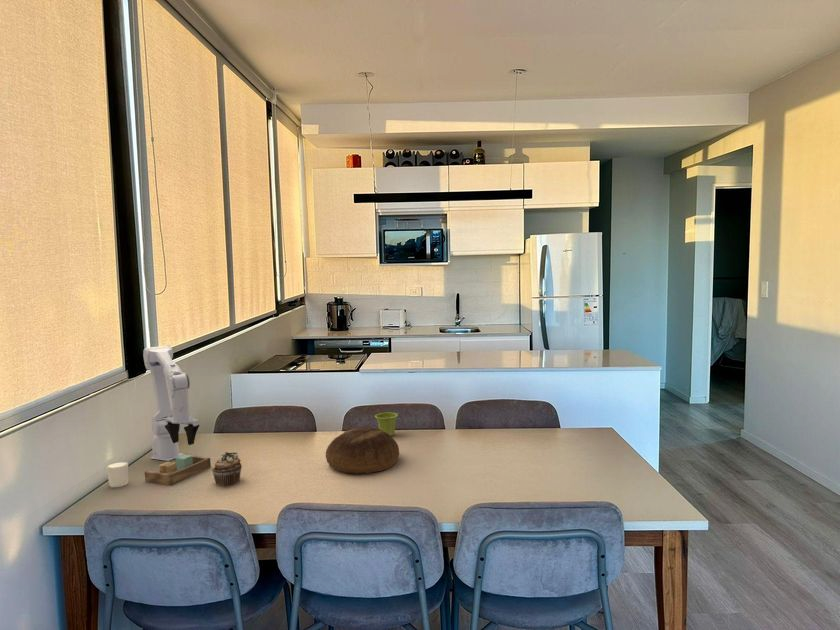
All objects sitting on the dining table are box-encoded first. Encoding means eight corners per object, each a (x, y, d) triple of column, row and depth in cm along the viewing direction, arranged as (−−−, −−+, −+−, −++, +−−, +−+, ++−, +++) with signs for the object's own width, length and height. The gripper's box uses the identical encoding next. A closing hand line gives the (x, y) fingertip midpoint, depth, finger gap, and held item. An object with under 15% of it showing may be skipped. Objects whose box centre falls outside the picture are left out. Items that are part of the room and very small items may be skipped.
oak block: (160, 478, 212) (159, 465, 211) (169, 475, 215) (168, 461, 215) (168, 480, 210) (167, 466, 209) (177, 476, 214) (176, 462, 213)
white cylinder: (134, 481, 210) (132, 462, 209) (118, 488, 203) (116, 468, 203) (118, 479, 212) (117, 460, 211) (103, 487, 206) (101, 467, 205)
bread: (414, 461, 220) (412, 426, 219) (358, 482, 201) (356, 444, 200) (368, 447, 239) (366, 415, 237) (312, 465, 220) (310, 430, 218)
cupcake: (219, 477, 211) (217, 449, 210) (246, 476, 210) (244, 449, 210) (208, 487, 201) (206, 458, 200) (237, 487, 201) (235, 457, 200)
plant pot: (397, 438, 250) (396, 417, 249) (375, 438, 250) (374, 418, 249) (398, 431, 259) (398, 412, 258) (377, 432, 259) (376, 412, 258)
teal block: (176, 471, 219) (175, 457, 219) (184, 467, 223) (184, 454, 222) (184, 472, 217) (183, 459, 217) (193, 468, 221) (192, 455, 221)
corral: (145, 481, 209) (144, 471, 209) (186, 463, 227) (185, 454, 226) (170, 485, 205) (169, 475, 204) (210, 467, 222) (210, 458, 221)
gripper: (157, 408, 217) (160, 444, 219) (187, 411, 212) (190, 448, 213) (172, 403, 224) (175, 439, 225) (202, 406, 218) (204, 442, 219)
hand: (183, 443), depth 219 cm, fingers open, 7 cm apart
